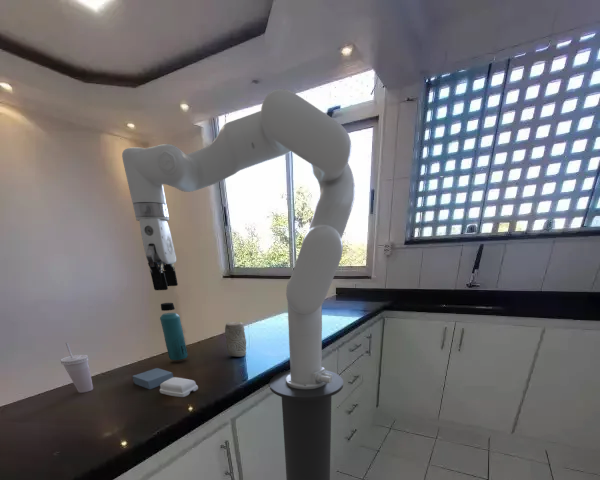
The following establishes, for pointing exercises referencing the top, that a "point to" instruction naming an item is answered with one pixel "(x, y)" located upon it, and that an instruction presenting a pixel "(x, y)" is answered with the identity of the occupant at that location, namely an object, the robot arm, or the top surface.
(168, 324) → the beverage bottle
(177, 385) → the white clamshell food container
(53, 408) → the top surface
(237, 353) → the carving
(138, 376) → the rubber pad
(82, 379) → the smoothie
